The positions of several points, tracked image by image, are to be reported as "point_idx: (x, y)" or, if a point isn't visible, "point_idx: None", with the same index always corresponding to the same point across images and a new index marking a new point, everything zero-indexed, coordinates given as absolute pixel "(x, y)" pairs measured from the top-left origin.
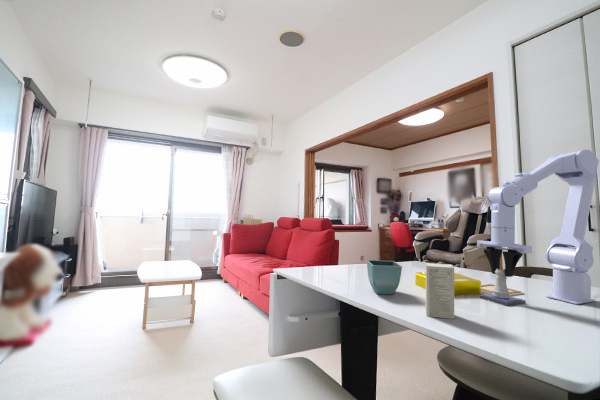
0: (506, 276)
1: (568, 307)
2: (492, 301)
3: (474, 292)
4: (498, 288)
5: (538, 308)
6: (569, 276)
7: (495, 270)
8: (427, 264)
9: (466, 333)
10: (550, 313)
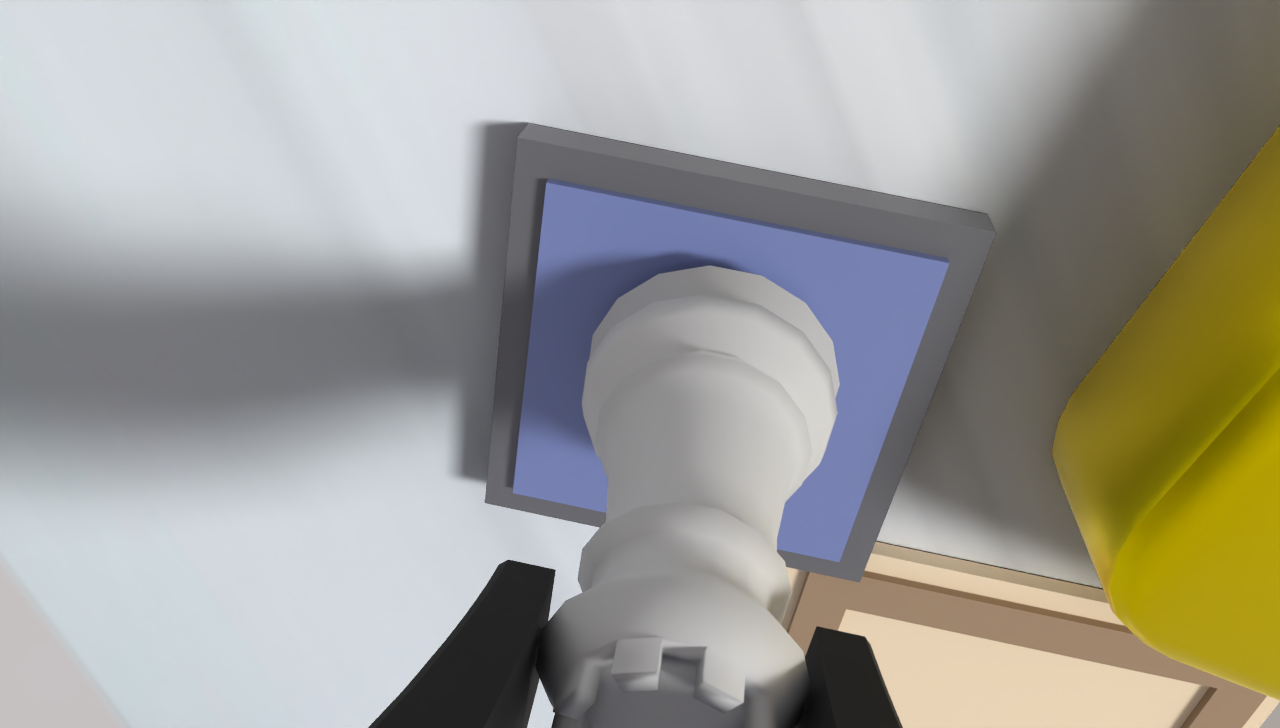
0: (535, 568)
1: (241, 658)
2: (760, 169)
3: (1128, 354)
4: (699, 367)
5: (313, 386)
6: None
7: (808, 719)
8: None
9: None
10: (141, 289)
